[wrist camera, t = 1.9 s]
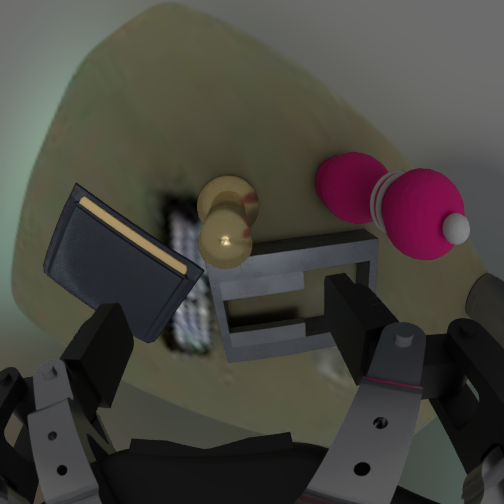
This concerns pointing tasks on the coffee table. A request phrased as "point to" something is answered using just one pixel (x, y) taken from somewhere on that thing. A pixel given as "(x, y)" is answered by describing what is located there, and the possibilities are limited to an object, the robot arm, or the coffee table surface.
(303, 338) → the keyhole plate
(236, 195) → the bolt
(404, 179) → the pepper mill
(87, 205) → the wallet
